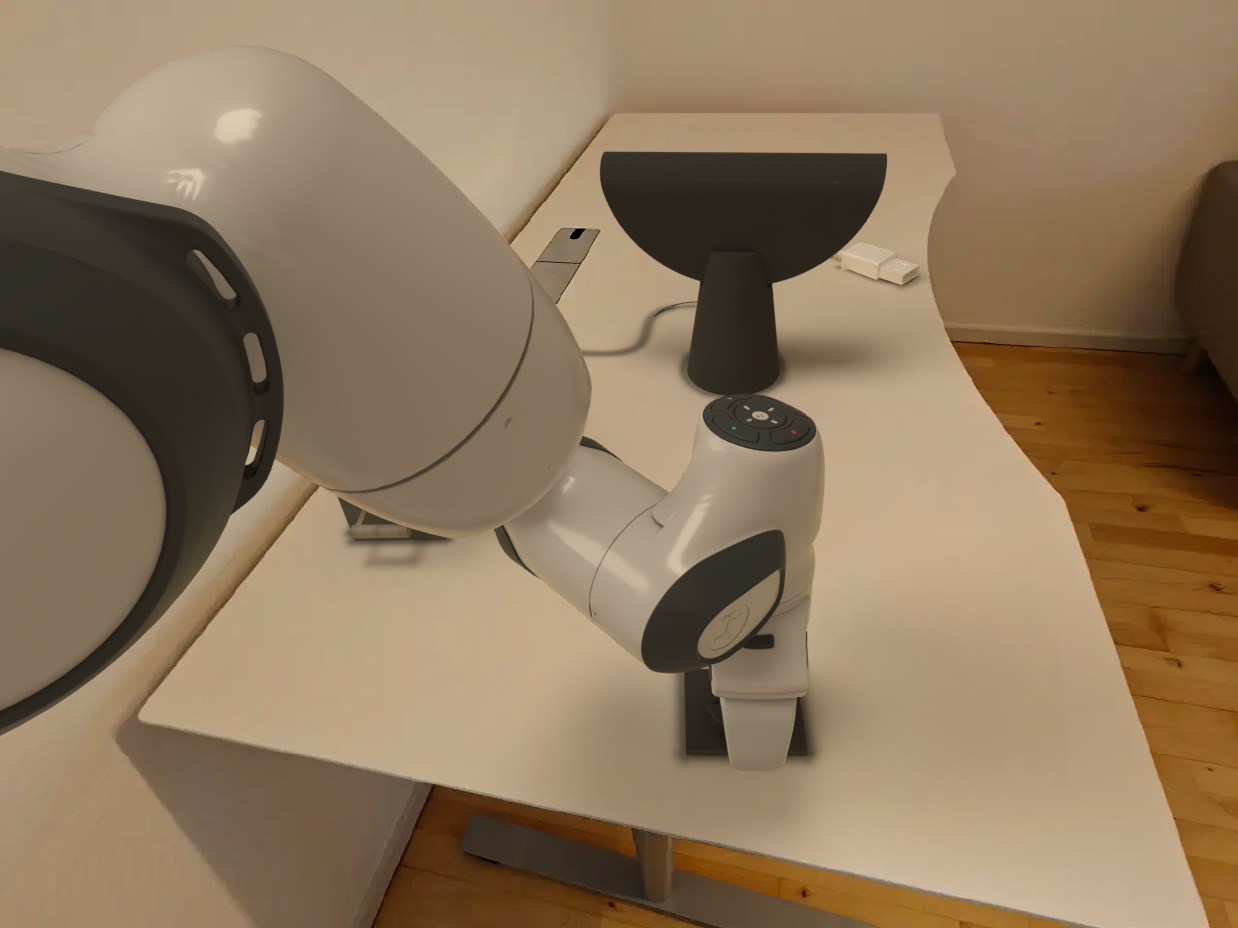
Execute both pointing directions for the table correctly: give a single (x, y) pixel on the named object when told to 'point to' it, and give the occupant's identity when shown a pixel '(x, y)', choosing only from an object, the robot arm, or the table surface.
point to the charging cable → (877, 263)
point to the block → (720, 719)
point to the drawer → (378, 526)
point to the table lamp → (740, 238)
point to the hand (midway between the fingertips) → (744, 692)
